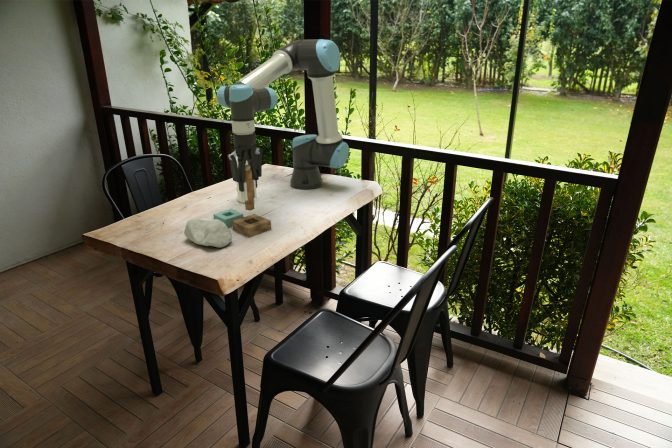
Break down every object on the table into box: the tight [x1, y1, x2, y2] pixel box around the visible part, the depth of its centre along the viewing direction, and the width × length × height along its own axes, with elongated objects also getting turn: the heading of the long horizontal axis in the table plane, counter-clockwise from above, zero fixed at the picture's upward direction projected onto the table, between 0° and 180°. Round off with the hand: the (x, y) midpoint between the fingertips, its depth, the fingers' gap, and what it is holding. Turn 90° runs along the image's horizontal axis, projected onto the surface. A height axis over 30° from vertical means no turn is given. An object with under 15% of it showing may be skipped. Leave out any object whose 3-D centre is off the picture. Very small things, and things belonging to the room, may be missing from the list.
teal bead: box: [213, 208, 244, 229], centre depth 177 cm, size 8×8×4 cm
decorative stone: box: [183, 217, 233, 248], centre depth 160 cm, size 17×10×10 cm
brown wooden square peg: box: [244, 165, 255, 211], centre depth 165 cm, size 3×3×16 cm
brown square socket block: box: [232, 213, 272, 238], centre depth 171 cm, size 10×10×4 cm
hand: (249, 198), depth 166 cm, fingers closed on brown wooden square peg, 3 cm apart
